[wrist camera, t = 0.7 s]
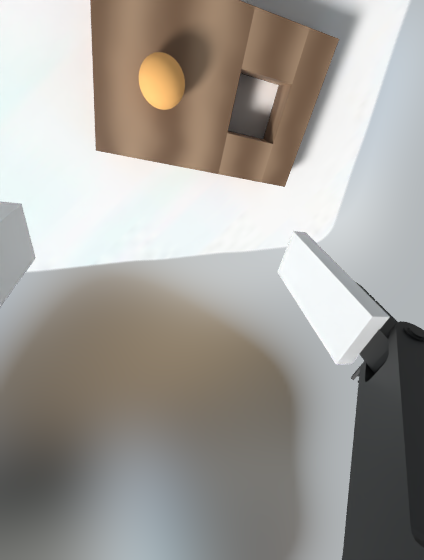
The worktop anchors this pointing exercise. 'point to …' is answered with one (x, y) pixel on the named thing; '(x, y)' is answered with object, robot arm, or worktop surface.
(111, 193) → the worktop surface
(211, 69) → the wooden block with hole
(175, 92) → the ball
